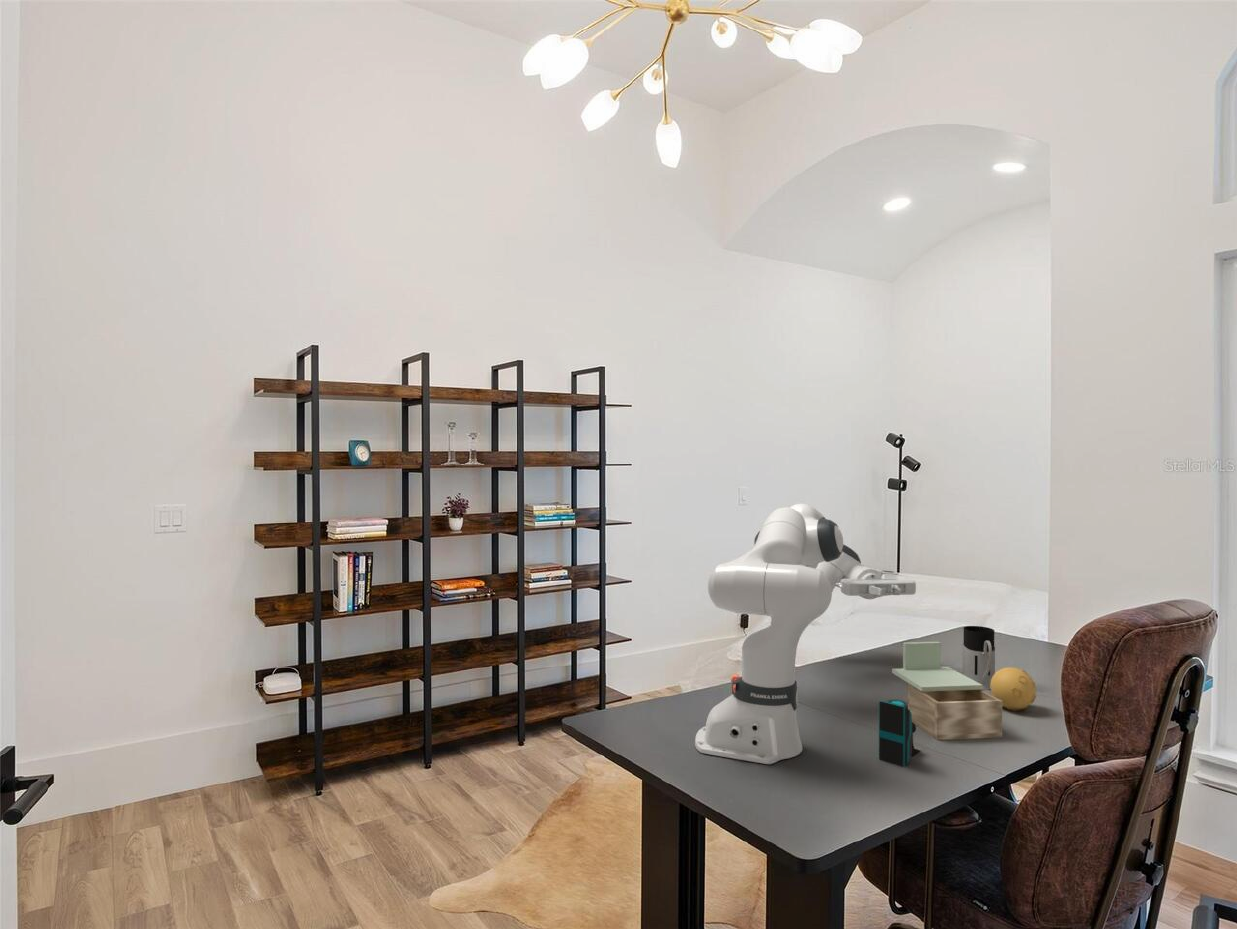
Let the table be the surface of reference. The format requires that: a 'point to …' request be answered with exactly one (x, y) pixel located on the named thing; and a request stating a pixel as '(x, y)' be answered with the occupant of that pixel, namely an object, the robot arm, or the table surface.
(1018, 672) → the stress ball
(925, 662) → the lid
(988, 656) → the glass holder
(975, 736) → the wooden box
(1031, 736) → the table surface
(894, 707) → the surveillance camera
